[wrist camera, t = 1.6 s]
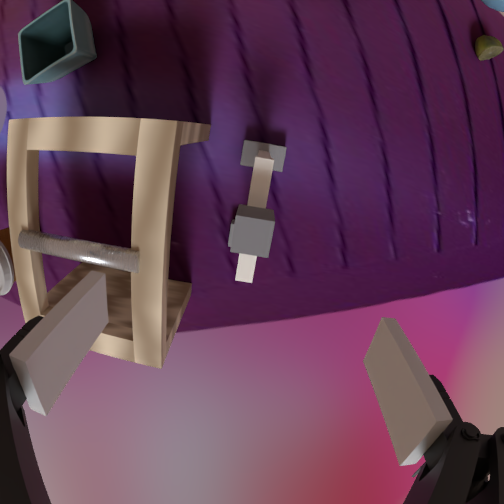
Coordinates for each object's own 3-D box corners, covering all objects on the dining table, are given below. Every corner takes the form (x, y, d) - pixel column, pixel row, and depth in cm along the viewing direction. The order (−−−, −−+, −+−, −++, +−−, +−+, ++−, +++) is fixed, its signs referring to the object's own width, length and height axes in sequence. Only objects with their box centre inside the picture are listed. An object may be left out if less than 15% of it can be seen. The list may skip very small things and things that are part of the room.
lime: (493, 52, 29) (512, 48, 25) (483, 70, 31) (503, 67, 26) (475, 31, 29) (493, 25, 24) (464, 49, 30) (483, 44, 25)
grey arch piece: (285, 146, 37) (301, 156, 22) (266, 247, 42) (268, 314, 27) (245, 139, 37) (232, 145, 22) (229, 240, 42) (210, 305, 27)
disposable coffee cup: (36, 203, 41) (-13, 227, 30) (60, 256, 44) (16, 291, 33) (5, 224, 42) (-40, 248, 31) (27, 272, 46) (-14, 304, 34)
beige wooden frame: (210, 124, 37) (173, 120, 21) (190, 295, 46) (159, 374, 30) (86, 116, 36) (2, 120, 20) (83, 273, 45) (22, 333, 29)
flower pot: (53, 41, 31) (17, 31, 23) (101, 14, 30) (69, -5, 22) (61, 89, 35) (23, 86, 26) (111, 63, 33) (77, 51, 25)
